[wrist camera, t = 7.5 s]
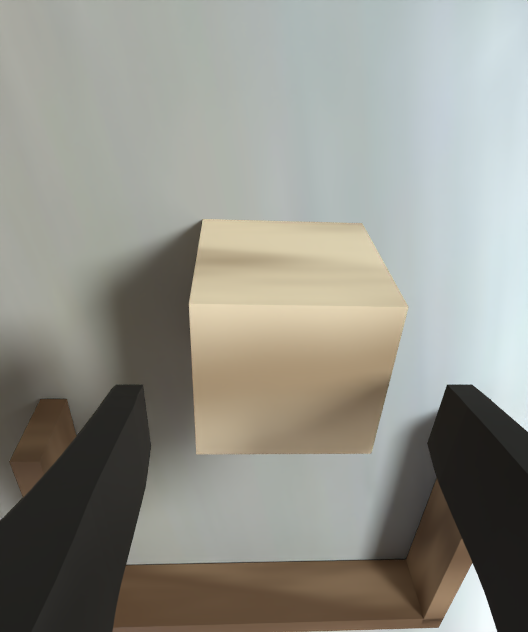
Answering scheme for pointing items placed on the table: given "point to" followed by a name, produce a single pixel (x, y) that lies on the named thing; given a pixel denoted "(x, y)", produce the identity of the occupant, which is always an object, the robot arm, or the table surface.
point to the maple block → (290, 337)
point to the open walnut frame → (271, 571)
